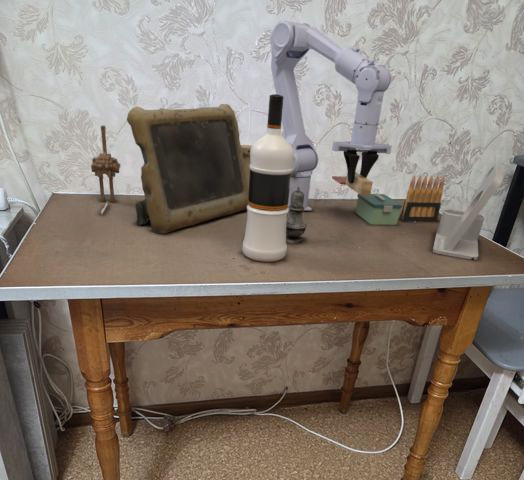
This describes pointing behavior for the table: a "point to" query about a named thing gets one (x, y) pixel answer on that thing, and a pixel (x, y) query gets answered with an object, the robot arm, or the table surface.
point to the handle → (246, 161)
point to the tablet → (188, 165)
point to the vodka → (269, 190)
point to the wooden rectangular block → (356, 183)
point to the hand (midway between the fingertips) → (356, 182)
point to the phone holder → (466, 222)
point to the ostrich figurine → (105, 168)
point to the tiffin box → (378, 209)
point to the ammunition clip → (423, 200)
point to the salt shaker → (295, 218)
